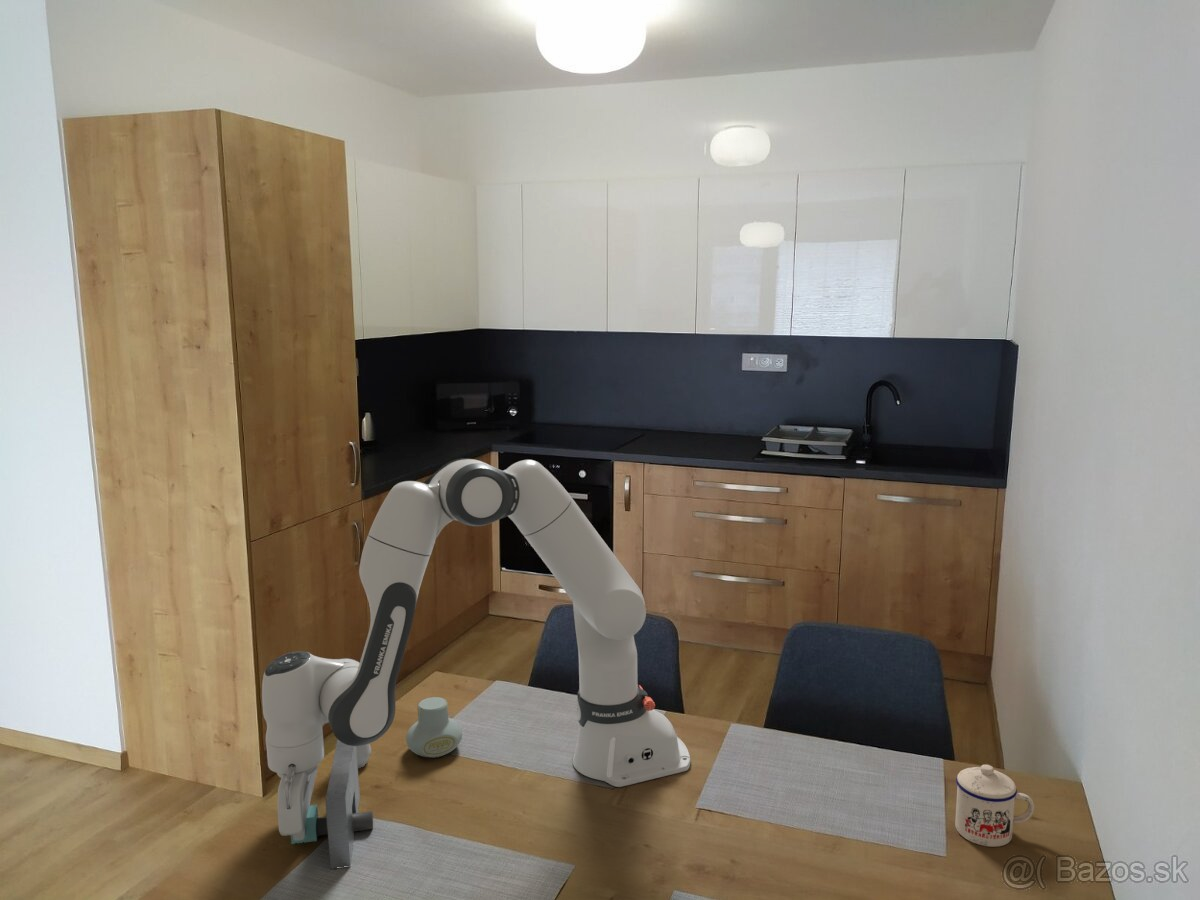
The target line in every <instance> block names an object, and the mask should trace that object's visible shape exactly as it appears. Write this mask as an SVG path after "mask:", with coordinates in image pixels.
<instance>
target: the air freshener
mask: <svg viewBox="0 0 1200 900" xmlns="http://www.w3.org/2000/svg"><path fill="white" fill-rule="evenodd" d="M462 738H463V728H462V727H461V725H460V724H459V723H458V721H456V720H455V719H453V718H452V717H450V716H449V704H448V701H447V700H446V699H445V698H443V697H437V696H431V697H427V698H424V699H422V700H421V701H420V702H418V704H417V721H416V722H414V723H413V724H412V725H411V726H410V728H409V729H408V731H407V733H406V736H405V741H406V745H407V746H408V749H410V751H411V752H413V754H416V755H418V756H419V757H425V758H431V759H432V758H433V759H435V758H436V757H437V758H440V757H441V758H442V757H443V756H445V755H447V754H449V753H451V752H452V751H454V750H455V749H456V748H458V746H459V745H460V743H461V741H462V740H463V739H462Z"/></svg>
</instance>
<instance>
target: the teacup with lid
mask: <svg viewBox="0 0 1200 900" xmlns="http://www.w3.org/2000/svg"><path fill="white" fill-rule="evenodd" d="M955 782H956V785H957V789H956V806H955V822H954V825H955V829H956V830H957V832H958V834H960V836H962V837H963V839H966V840H967V841H969V842H970V843H974V844H976V845H979V846H983V847H990V848H991V847H992V848H995V847H996V848H998V847H1002V846H1005V845H1007V844H1009V843H1010V842H1011V840H1012V839H1013V829H1014V827H1013V826H1014V824H1017V823H1018V824H1019V823H1020V824H1021V823H1024V822H1026V821H1028V820H1029V819H1030V818H1032V816H1033V814H1034V810H1035V804H1034V803H1035V802H1034V801H1033V799H1032V798H1031V797H1030V796H1029V795H1027V794H1025V793H1023V792H1018V789H1017V786H1016V783H1015V782H1014V780H1013V779H1011V777H1009V776H1008V775H1006V774H1005V773H1003V772H1001V771H998V770H995V769H994V767H993V766H992V765H990V764H982V765H981V766H973V767H967V768H964V769H962V770H960V771H959V773H958V774H957V776H956V778H955ZM1015 800H1023V801H1026V802H1027V803H1028V806H1027V809H1026V810H1025V812H1023V813H1022V814H1019V815H1015V814H1014V813H1015Z"/></svg>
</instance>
